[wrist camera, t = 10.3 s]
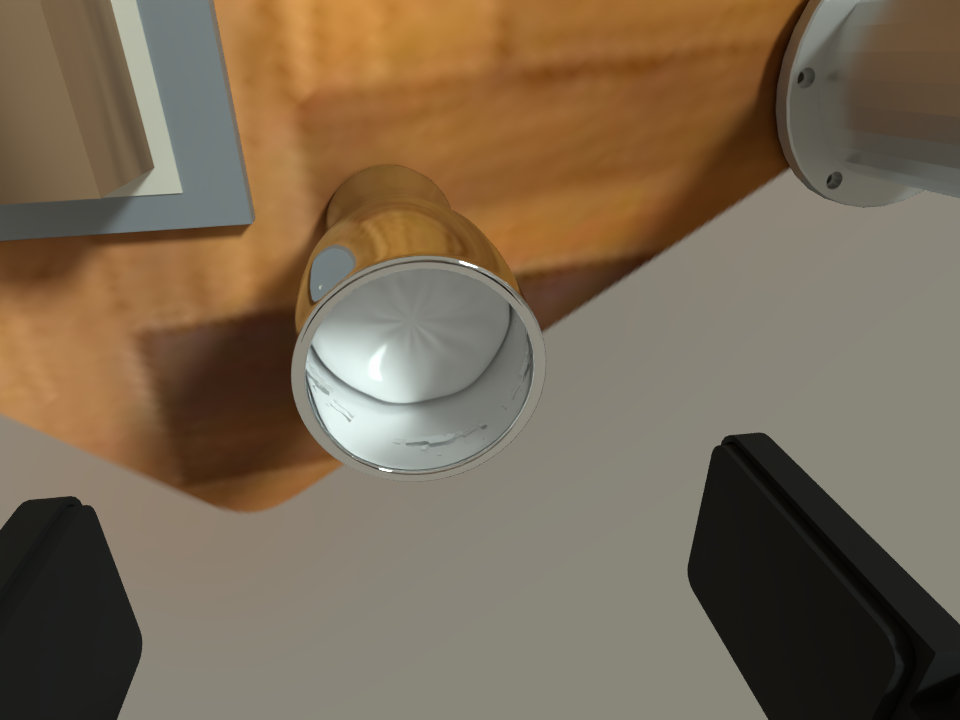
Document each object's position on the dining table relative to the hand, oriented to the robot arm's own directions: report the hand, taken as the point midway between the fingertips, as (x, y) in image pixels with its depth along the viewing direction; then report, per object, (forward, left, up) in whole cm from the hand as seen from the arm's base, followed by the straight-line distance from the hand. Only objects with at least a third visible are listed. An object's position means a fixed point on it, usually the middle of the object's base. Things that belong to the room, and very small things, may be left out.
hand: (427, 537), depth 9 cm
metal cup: (-1, +1, -22) cm, 22 cm away
